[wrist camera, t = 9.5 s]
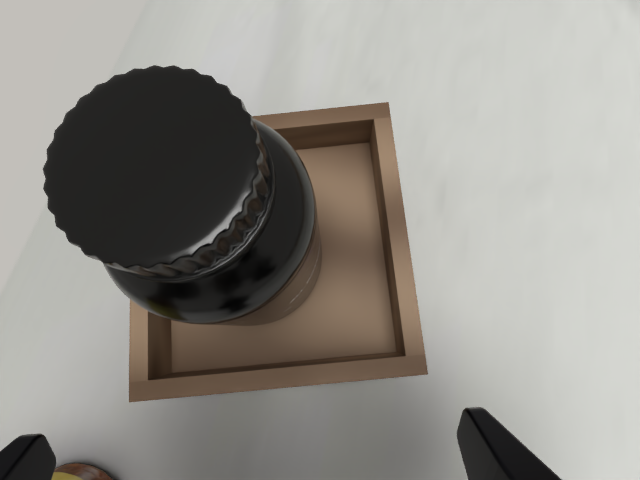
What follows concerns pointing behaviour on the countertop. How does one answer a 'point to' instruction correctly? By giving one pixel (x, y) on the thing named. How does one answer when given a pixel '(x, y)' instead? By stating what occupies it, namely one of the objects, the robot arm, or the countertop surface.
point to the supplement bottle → (186, 199)
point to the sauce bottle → (79, 472)
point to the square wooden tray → (331, 287)
